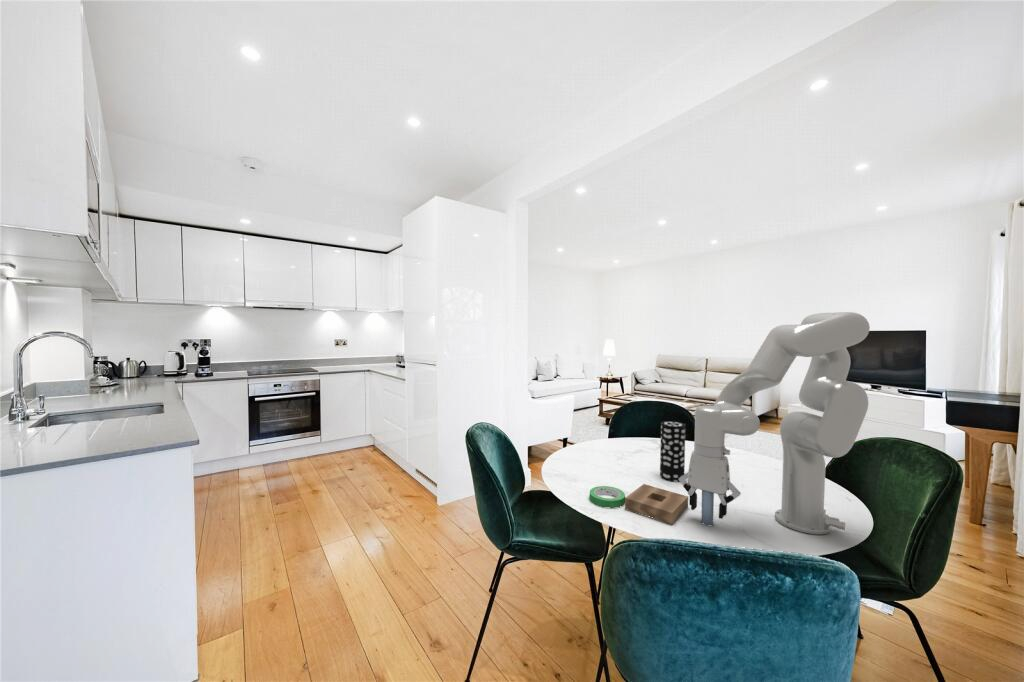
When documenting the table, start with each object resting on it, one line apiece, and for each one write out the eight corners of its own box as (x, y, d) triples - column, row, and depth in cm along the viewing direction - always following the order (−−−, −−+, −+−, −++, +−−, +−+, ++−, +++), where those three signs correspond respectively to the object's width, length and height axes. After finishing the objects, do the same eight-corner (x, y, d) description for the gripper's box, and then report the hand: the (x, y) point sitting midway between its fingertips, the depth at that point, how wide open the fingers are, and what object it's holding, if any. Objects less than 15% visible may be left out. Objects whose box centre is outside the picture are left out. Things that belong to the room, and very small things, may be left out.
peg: (714, 522, 108) (715, 488, 108) (711, 526, 106) (712, 491, 105) (703, 519, 110) (703, 485, 110) (700, 523, 108) (700, 488, 107)
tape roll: (584, 502, 121) (584, 494, 120) (597, 490, 130) (597, 483, 130) (618, 512, 114) (618, 503, 114) (629, 499, 124) (629, 491, 123)
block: (688, 507, 117) (688, 496, 117) (672, 525, 107) (672, 512, 106) (643, 494, 126) (643, 483, 126) (624, 509, 116) (625, 497, 116)
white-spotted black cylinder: (679, 473, 144) (680, 421, 144) (687, 482, 136) (688, 427, 135) (657, 472, 145) (658, 420, 144) (663, 481, 137) (664, 426, 136)
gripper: (747, 453, 104) (745, 518, 105) (681, 441, 116) (680, 498, 116) (741, 461, 99) (739, 528, 99) (672, 446, 110) (671, 507, 111)
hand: (707, 512), depth 108 cm, fingers open, 6 cm apart
